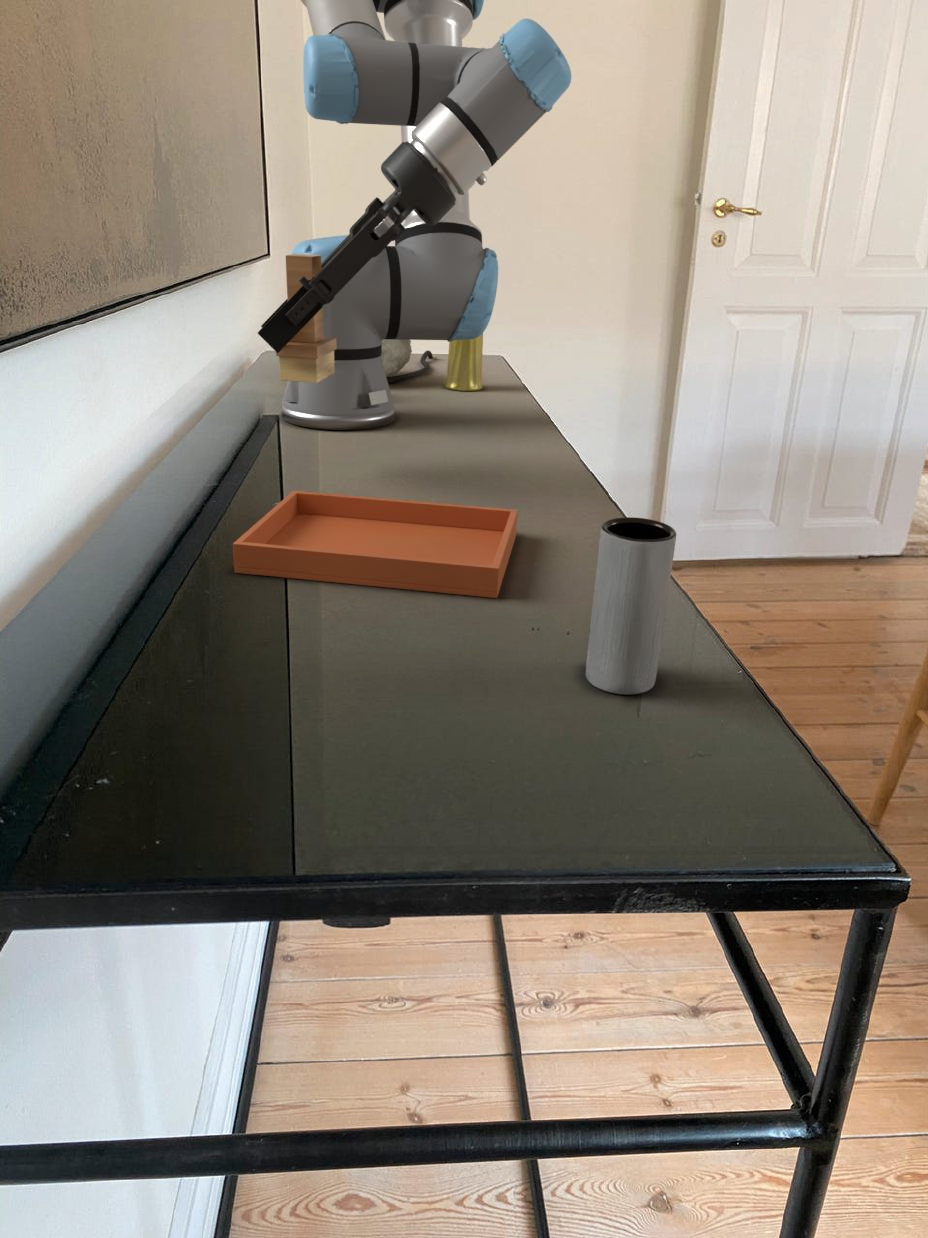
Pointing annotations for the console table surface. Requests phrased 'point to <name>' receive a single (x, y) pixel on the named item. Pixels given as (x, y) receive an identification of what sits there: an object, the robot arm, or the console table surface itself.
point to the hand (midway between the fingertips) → (269, 338)
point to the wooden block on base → (306, 331)
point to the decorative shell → (395, 355)
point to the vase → (465, 365)
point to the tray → (381, 543)
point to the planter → (629, 604)
